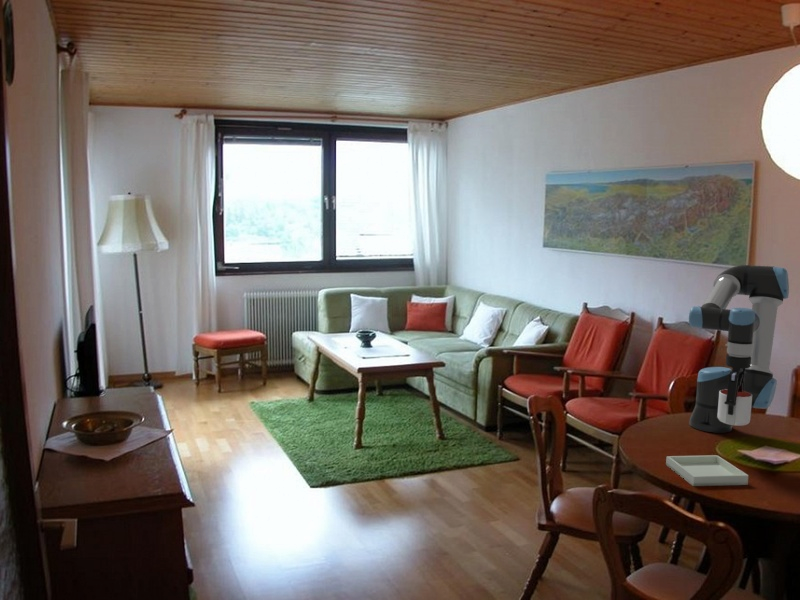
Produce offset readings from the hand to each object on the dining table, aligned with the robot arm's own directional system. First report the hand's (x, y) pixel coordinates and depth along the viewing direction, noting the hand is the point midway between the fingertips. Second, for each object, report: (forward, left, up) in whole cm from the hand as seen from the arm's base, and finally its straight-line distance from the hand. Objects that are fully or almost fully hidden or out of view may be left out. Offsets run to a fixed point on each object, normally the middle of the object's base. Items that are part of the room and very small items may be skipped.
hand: (733, 419), depth 239 cm
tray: (+16, +13, -14) cm, 25 cm away
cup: (0, 0, -1) cm, 1 cm away
